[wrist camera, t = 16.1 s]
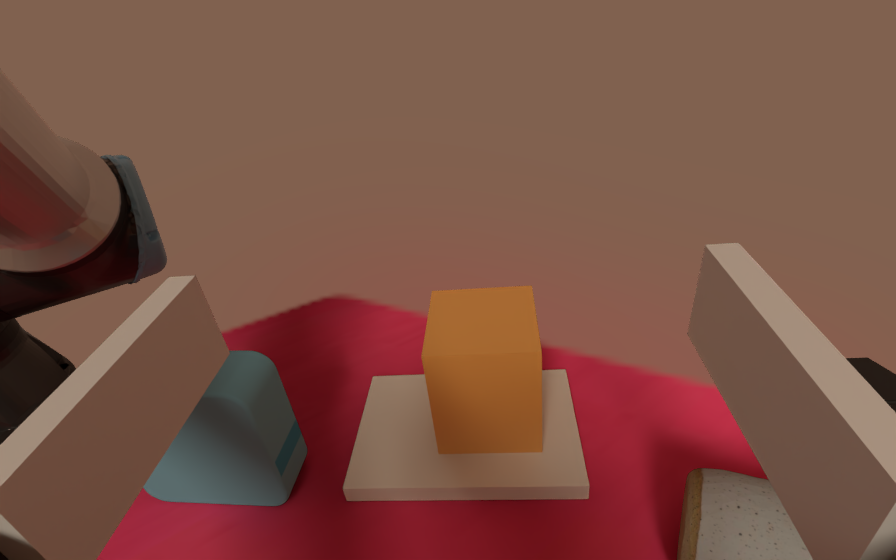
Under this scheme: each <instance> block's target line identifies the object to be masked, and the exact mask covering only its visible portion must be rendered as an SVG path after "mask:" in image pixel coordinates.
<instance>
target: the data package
mask: <svg viewBox="0 0 896 560" xmlns="http://www.w3.org/2000/svg"><path fill="white" fill-rule="evenodd" d="M229 352H230V354H229V356H228V357H227V359H226V360H225V362H224V363H223V365H222V366H221V368H220V369H219V371H218V373H217V374H216V376H215V377H214V379H213V380H212V382H211V383H210V385H209V386H208V388H207V389H206V391H205V393H204V394H203V396H202V397H201V399H200V400H199V402H198V403H197V405H196V406H195V408H194V409H193V411H192V413H191V414H190V416H189V417H188V419H187V420H186V422H185V423H184V425H183V426H182V428H181V430H180V431H179V433H178V434H177V436H176V437H175V439H174V440H173V442H172V443H171V445H170V446H169V448H168V450H167V451H166V453H165V454H164V456H163V457H162V459H161V460H160V462H159V463H158V465H157V467H156V468H155V470H154V471H153V473H152V474H151V476H150V477H149V479H148V480H147V482H146V483H145V485H144V487H143V488H144V489H145V490H146V491H147V492H148V493H149V494H150V495H152V496H153V497H155V498H157V499H160V500H163V501H168V502H189V503H211V504H233V505H256V506H279V505H282V504H284V503H285V502H286V501H287V500H288V498H289V495H290V493H291V491H292V488H293V486H294V484H295V481H296V479H297V476H298V474H299V472H300V469H301V467H302V465H303V462H304V460H305V458H306V455H307V446H306V444H305V441H304V438H303V436H302V433H301V431H300V428H299V425H298V423H297V420H296V418H295V415H294V413H293V410H292V407H291V405H290V402H289V400H288V397H287V394H286V392H285V389H284V387H283V384H282V381H281V379H280V376H279V374H278V371H277V368H276V366H275V364H274V363H273V362H272V361H271V360H270V359H269V358H268V357H267V356H265V355H263V354H261V353H259V352H255V351H229Z"/></svg>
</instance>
